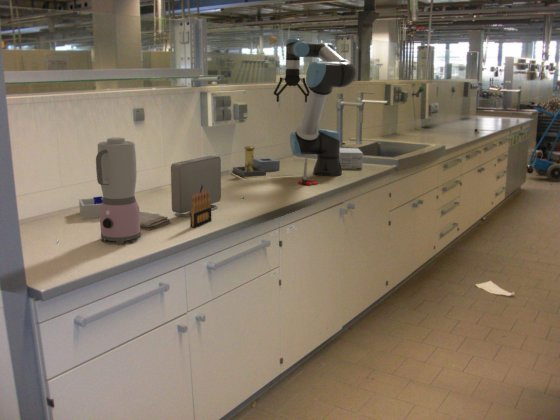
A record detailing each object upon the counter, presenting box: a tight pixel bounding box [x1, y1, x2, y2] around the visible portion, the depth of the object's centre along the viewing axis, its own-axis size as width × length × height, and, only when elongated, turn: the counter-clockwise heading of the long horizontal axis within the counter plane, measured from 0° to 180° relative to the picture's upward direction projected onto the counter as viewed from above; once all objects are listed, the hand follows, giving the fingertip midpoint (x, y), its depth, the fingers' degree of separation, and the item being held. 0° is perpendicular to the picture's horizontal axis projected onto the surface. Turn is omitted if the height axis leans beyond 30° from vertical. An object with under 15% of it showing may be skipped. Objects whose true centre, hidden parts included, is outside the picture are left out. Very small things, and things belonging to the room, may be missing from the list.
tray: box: [232, 166, 267, 179], centre depth 287 cm, size 16×12×3 cm
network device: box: [170, 155, 222, 218], centre depth 210 cm, size 26×9×20 cm, turn 151°
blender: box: [95, 137, 142, 245], centre depth 171 cm, size 16×12×32 cm
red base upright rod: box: [297, 157, 319, 186], centre depth 268 cm, size 8×13×9 cm
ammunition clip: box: [189, 189, 213, 229], centre depth 194 cm, size 11×2×12 cm, turn 154°
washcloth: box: [140, 211, 171, 231], centre depth 195 cm, size 12×18×3 cm, turn 64°
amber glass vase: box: [243, 145, 255, 172], centre depth 286 cm, size 5×5×14 cm
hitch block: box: [254, 157, 281, 172], centre depth 299 cm, size 11×11×6 cm
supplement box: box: [339, 147, 364, 169], centre depth 321 cm, size 17×13×9 cm
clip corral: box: [78, 197, 103, 220], centre depth 206 cm, size 11×19×5 cm, turn 115°
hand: (291, 108), depth 306 cm, fingers open, 13 cm apart
